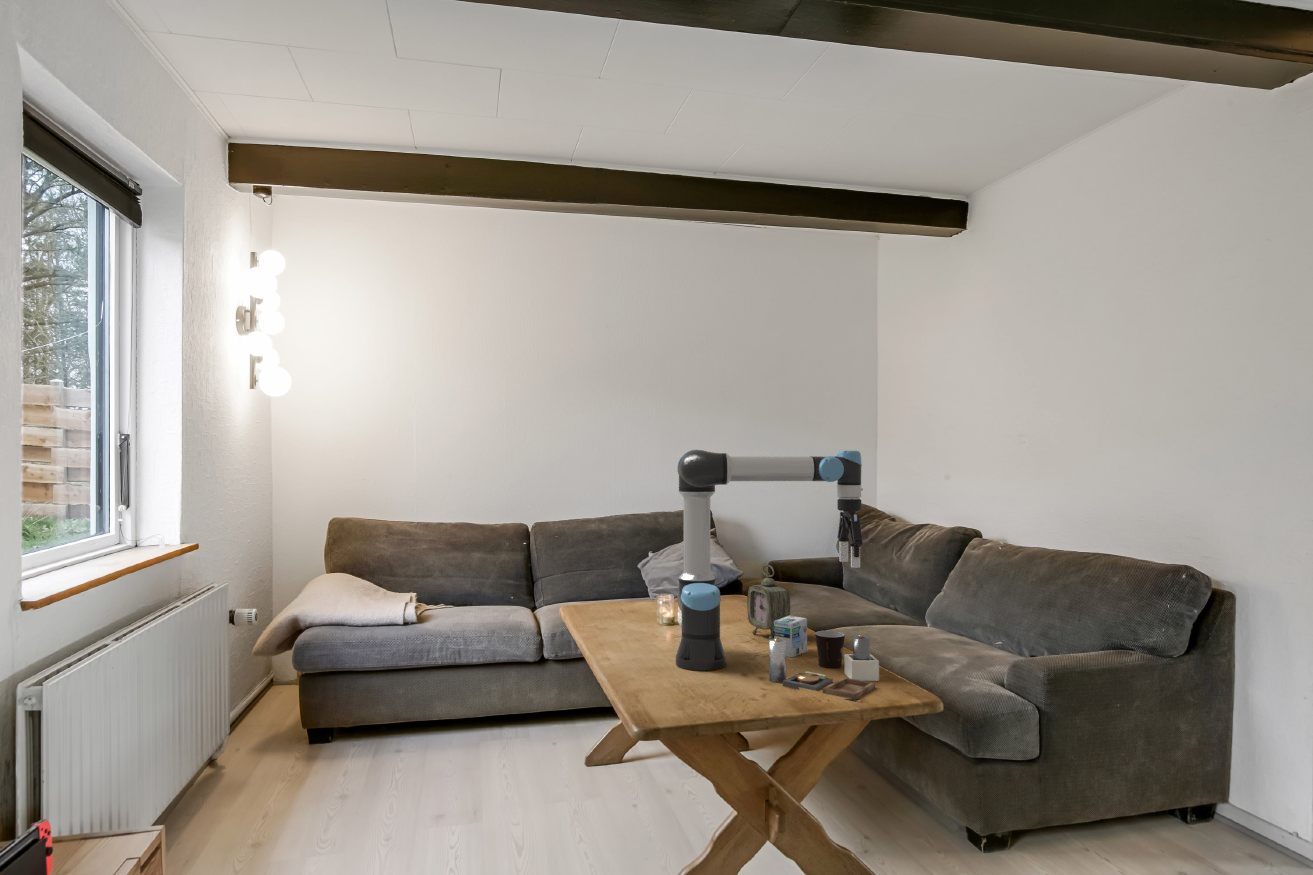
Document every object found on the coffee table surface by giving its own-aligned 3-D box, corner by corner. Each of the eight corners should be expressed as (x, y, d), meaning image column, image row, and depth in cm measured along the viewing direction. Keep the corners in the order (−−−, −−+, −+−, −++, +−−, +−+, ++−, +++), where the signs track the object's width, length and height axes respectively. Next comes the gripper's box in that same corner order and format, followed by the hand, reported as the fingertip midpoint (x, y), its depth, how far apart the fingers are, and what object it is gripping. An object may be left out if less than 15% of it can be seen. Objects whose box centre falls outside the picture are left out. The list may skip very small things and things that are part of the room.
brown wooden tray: (854, 701, 204) (854, 694, 204) (822, 694, 209) (822, 688, 209) (875, 689, 214) (875, 683, 214) (843, 683, 220) (843, 677, 220)
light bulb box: (792, 657, 248) (792, 623, 248) (773, 654, 252) (773, 620, 252) (807, 651, 256) (807, 617, 256) (789, 648, 260) (789, 615, 260)
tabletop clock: (747, 633, 280) (747, 562, 281) (768, 631, 284) (768, 561, 285) (769, 642, 267) (769, 568, 268) (792, 640, 271) (792, 566, 272)
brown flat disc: (812, 685, 214) (812, 679, 214) (792, 681, 218) (792, 675, 218) (822, 680, 219) (822, 674, 219) (803, 676, 223) (803, 671, 223)
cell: (770, 682, 221) (770, 640, 221) (767, 677, 225) (767, 636, 226) (787, 682, 221) (787, 640, 221) (783, 677, 226) (783, 636, 226)
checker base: (816, 692, 211) (816, 684, 211) (782, 685, 218) (782, 677, 218) (832, 684, 219) (832, 676, 219) (800, 677, 225) (800, 669, 225)
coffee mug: (825, 662, 242) (825, 629, 243) (850, 667, 236) (850, 633, 236) (803, 669, 234) (803, 635, 234) (828, 675, 228) (828, 640, 228)
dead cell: (855, 679, 222) (855, 637, 222) (851, 674, 227) (851, 633, 227) (872, 678, 222) (871, 637, 222) (867, 674, 227) (866, 633, 227)
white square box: (851, 682, 220) (851, 661, 221) (844, 675, 228) (844, 654, 228) (879, 682, 221) (878, 660, 221) (870, 674, 228) (870, 653, 228)
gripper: (872, 500, 244) (873, 569, 243) (850, 496, 268) (850, 559, 268) (848, 500, 243) (848, 570, 243) (828, 496, 268) (828, 559, 268)
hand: (849, 564), depth 255 cm, fingers open, 13 cm apart
